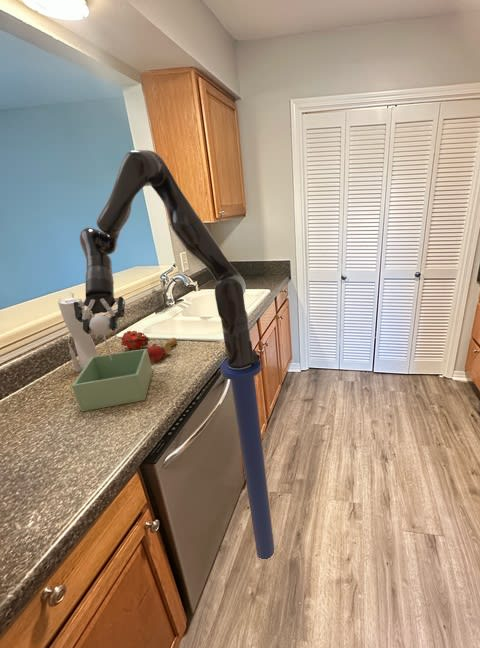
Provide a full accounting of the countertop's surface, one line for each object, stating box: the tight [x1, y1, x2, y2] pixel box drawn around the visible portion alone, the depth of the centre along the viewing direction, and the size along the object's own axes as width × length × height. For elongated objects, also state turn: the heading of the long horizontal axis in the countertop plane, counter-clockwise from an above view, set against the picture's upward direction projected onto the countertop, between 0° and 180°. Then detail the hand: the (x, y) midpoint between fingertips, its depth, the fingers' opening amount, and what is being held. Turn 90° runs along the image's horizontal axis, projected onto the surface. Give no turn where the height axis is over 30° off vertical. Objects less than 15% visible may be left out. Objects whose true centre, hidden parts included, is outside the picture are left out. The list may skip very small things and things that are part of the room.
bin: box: [71, 348, 154, 412], centre depth 105 cm, size 18×20×9 cm
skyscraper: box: [57, 292, 100, 374], centre depth 118 cm, size 8×8×28 cm
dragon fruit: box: [120, 330, 151, 351], centre depth 135 cm, size 8×8×12 cm
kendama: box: [146, 337, 178, 362], centre depth 130 cm, size 8×6×18 cm
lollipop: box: [89, 314, 112, 360], centre depth 100 cm, size 6×6×15 cm
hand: (100, 331), depth 97 cm, fingers closed on lollipop, 6 cm apart
